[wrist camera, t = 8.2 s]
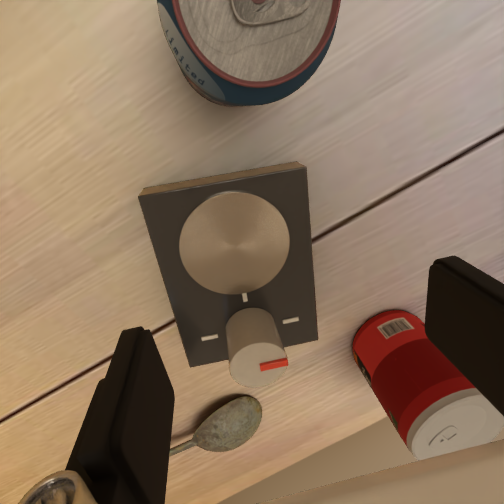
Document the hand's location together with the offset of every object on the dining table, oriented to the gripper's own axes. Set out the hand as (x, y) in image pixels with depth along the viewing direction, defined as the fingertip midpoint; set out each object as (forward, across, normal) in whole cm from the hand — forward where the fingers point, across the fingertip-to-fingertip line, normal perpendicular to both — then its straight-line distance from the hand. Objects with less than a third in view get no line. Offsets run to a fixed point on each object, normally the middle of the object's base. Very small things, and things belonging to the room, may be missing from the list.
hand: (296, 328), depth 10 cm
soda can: (+17, -1, -10) cm, 20 cm away
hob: (+17, +1, +6) cm, 18 cm away
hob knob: (+14, +1, +11) cm, 18 cm away
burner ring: (+14, +1, +3) cm, 14 cm away
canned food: (+17, -12, +18) cm, 28 cm away
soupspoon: (+17, +13, +25) cm, 33 cm away
